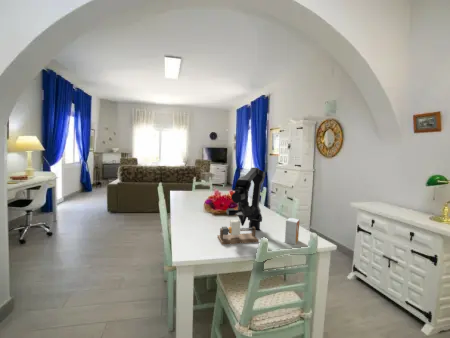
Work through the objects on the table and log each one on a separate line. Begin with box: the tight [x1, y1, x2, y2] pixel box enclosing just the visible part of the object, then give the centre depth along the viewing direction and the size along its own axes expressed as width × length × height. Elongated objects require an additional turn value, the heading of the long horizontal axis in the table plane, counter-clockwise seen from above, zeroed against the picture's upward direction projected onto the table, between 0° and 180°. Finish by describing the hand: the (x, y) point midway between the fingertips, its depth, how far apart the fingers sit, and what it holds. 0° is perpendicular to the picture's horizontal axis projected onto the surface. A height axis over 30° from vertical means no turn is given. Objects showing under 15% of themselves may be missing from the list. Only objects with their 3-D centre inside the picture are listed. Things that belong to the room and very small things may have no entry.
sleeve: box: [229, 219, 241, 235], centre depth 140 cm, size 5×4×8 cm
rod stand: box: [216, 226, 260, 246], centre depth 140 cm, size 22×11×8 cm, turn 105°
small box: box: [284, 217, 300, 245], centre depth 140 cm, size 8×6×13 cm
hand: (242, 225), depth 141 cm, fingers closed
